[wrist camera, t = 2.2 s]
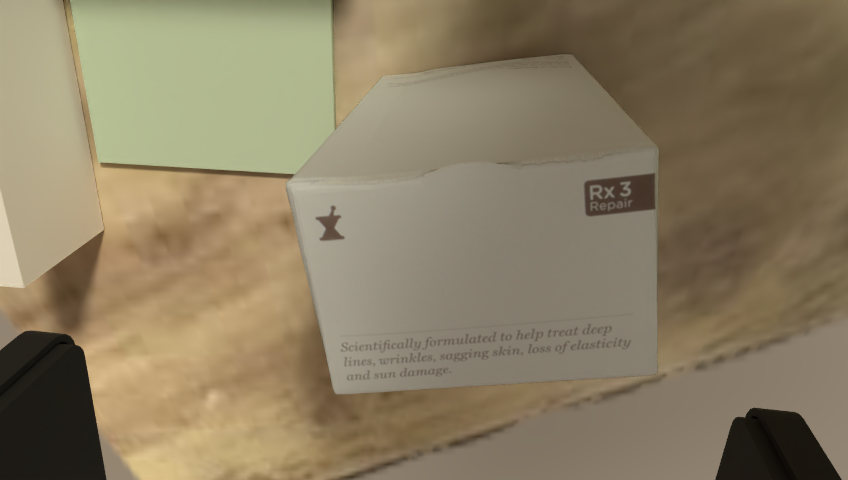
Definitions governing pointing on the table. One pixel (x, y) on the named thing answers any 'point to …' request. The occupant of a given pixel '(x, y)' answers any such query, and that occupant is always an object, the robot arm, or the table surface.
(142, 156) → the pad
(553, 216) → the skincare box
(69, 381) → the robot arm
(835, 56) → the table surface
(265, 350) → the table surface
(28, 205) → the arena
